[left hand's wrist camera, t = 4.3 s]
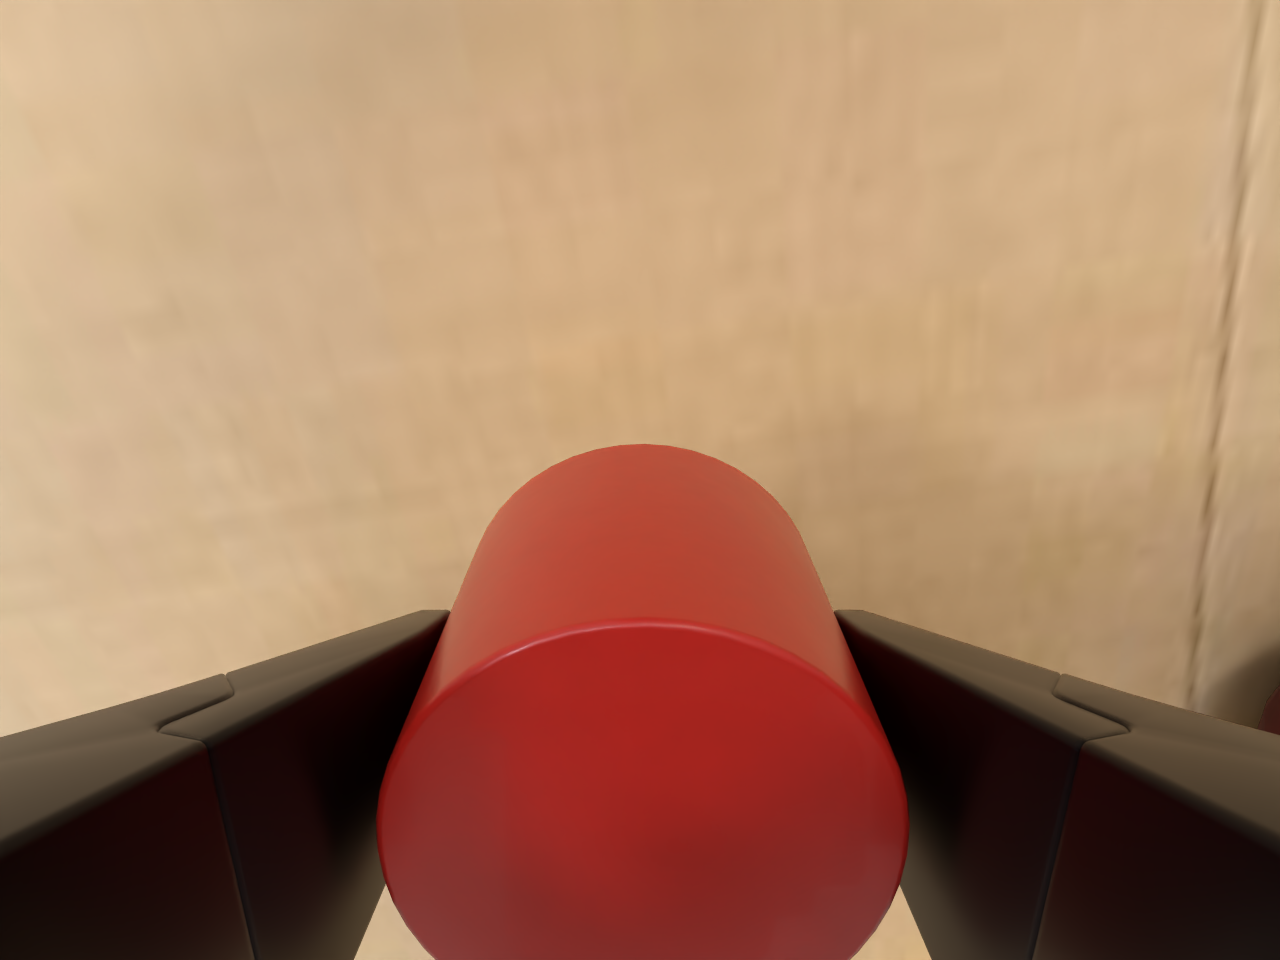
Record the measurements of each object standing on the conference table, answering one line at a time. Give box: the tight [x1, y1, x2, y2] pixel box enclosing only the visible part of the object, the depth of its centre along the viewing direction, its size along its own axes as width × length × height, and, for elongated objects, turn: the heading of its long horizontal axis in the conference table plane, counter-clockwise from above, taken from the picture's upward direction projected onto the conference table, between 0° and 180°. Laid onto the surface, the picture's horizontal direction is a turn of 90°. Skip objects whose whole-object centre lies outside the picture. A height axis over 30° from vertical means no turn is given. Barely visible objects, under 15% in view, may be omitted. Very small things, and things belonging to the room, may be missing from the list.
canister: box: [376, 444, 910, 960], centre depth 10 cm, size 5×5×5 cm
